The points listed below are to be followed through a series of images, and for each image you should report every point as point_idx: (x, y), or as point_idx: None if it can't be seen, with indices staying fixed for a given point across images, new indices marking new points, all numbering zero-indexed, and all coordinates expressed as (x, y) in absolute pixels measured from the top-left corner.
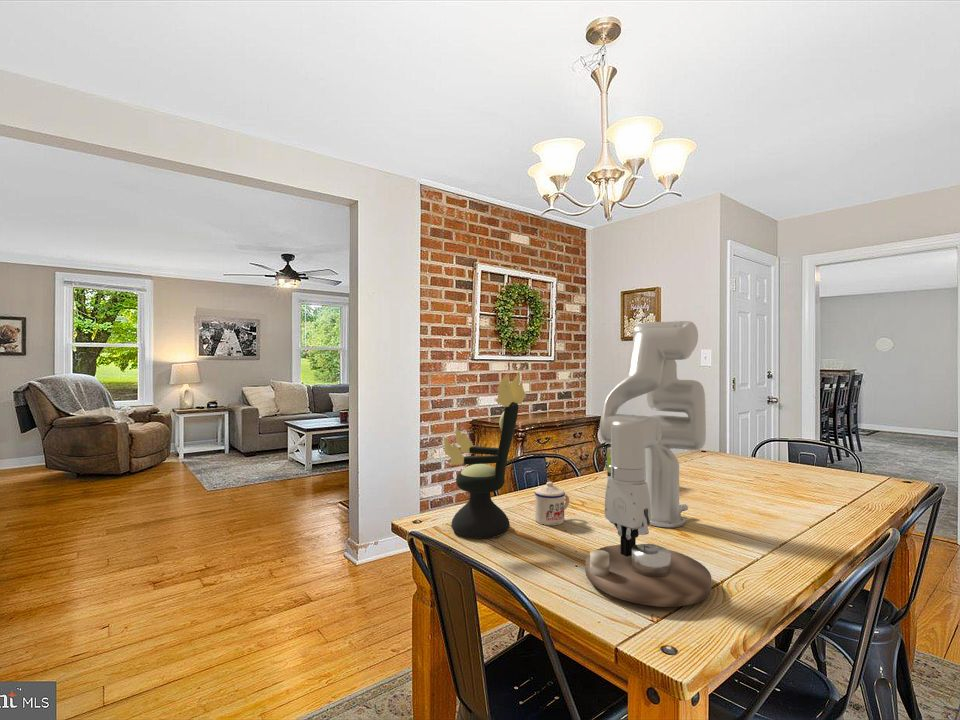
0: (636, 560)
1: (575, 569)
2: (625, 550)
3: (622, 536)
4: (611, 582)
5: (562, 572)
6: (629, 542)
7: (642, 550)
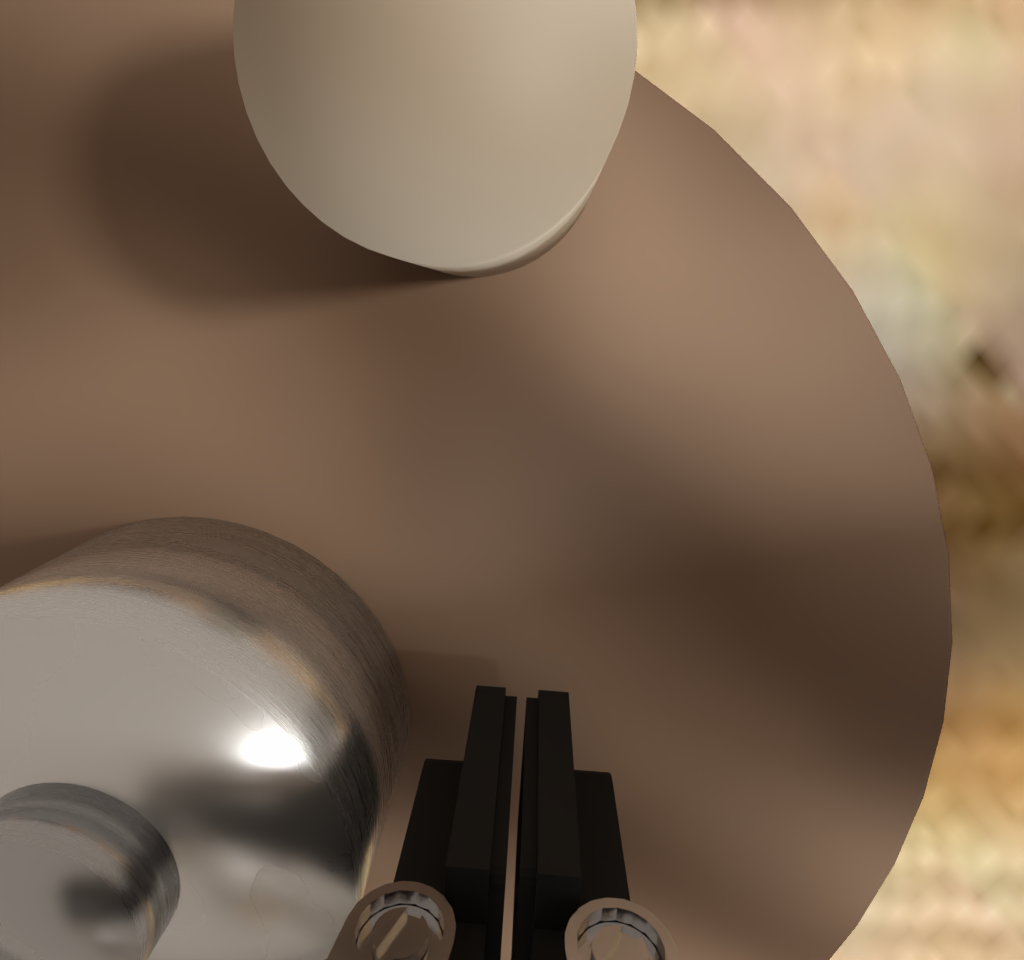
0: (148, 579)
1: (935, 285)
2: (476, 729)
3: (585, 927)
4: (170, 28)
5: (997, 90)
6: (426, 865)
7: (146, 798)
